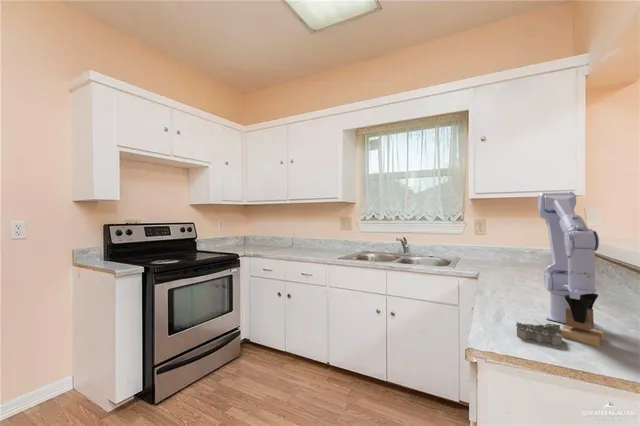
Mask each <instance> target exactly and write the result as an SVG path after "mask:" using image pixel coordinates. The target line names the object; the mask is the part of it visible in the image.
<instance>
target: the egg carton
mask: <svg viewBox="0 0 640 426" xmlns="http://www.w3.org/2000/svg"><path fill="white" fill-rule="evenodd" d="M515 323H516V324H515V327H516V337H519V338H521V339H522V340H527V339H528V340H533V341H536V342H538V343H542V342H543V343H549V344H551V345H553V346H562V345H563V339H564V337H562V336H563V335H562V332H561V329H562V327H561V326H560V324H555V323H546V324H545V325H544V324H541V323H539V324H532V323H522V322H518V321H516V322H515Z"/></svg>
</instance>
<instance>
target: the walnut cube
mask: <svg viewBox="0 0 640 426" xmlns="http://www.w3.org/2000/svg"><path fill="white" fill-rule="evenodd" d="M565 325H566V326H570V327H575V328H579V329H583V330H588V331H590V330H591V329H594V309H593V308H592V309H590V308H588V310H587V314H586V320H585V322H584V323H580V322H575V321H574V319H573V316H572V312H571V309H570V306H568V307H567V308H566V323H565Z"/></svg>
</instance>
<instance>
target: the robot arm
mask: <svg viewBox="0 0 640 426" xmlns="http://www.w3.org/2000/svg"><path fill="white" fill-rule="evenodd" d="M576 205H577V197H576V194H575V192H573V191H562V192H561V191H559V192H558V191H557V192H539V194H538V195H537V209H538V215H539V218H541V219H543V220H545V223H546V227H547V232H548V233H547V234H548V240H549V247H550V253H551V255H550V256H551V260H552V264H549V265H547V267H545V268H544V269H543V284H544V288H545V289H546V290H547V291H548V292H549V293H550V294H549V295H550V298H549V299H550V301H549V303H550V314H549V315H548V316H546V317H545V319H546V320H549V321H554V322H558V323H562V324H566V308H567V307H568V306H570V309H571V312H572V316H573V319H574V321H575V322H580V323H584V322H585V320H586V314H587V310H588V308H590V309H593V308H594V304H595V302H596V300H597V299H598V297H599V294H598V293H597V289H596V254H595V252H597V251H598V249H599V245H600V239H599V235H598V232H597V231H596V230H594V229H593V228H592V229H591V228H589V227H588V225H587V224H586V222H585V220H584V218H583V217H582V216H580V215H578V214H576V212H575V207H576Z"/></svg>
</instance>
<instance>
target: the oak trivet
mask: <svg viewBox="0 0 640 426" xmlns="http://www.w3.org/2000/svg"><path fill="white" fill-rule="evenodd" d="M561 332H562V335H563V336H562V337H563V339H568V340H573V341H576V342H579V343H583V344H587V345H590V346H591V345H592V346H595V347H600V345H601V344H602V342H603V341H604V339H605V331H604V330H601V329H596V328H592V329H591V330H590V331H588V330H583V329H579V328H575V327H570V326H566V324H565V325H564V326H563V327H561Z"/></svg>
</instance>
